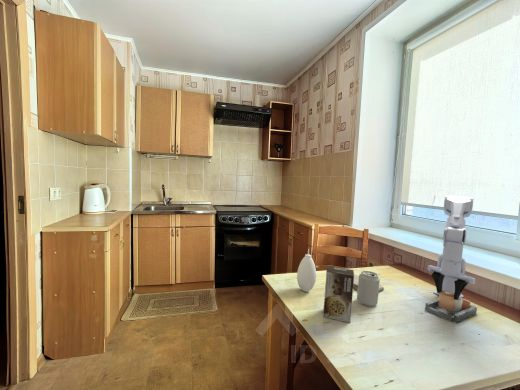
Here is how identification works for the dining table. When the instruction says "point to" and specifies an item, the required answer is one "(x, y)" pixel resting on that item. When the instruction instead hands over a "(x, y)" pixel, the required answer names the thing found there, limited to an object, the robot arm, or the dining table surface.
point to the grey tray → (455, 318)
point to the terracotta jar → (446, 300)
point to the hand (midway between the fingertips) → (447, 295)
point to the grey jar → (457, 306)
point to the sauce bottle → (306, 273)
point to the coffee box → (338, 293)
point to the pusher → (465, 304)
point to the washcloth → (356, 280)
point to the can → (368, 288)
